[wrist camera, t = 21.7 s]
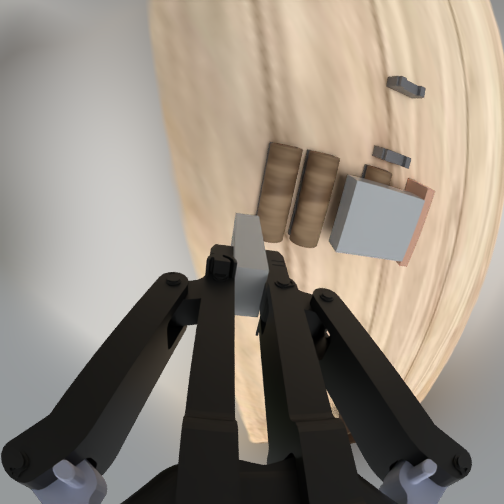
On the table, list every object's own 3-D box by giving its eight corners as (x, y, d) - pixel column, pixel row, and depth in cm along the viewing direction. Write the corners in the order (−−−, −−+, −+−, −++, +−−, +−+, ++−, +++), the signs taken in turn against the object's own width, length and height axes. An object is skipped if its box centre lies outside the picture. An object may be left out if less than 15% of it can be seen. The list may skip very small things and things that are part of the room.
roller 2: (305, 149, 43) (315, 153, 39) (333, 155, 44) (345, 160, 39) (286, 233, 51) (293, 246, 46) (312, 236, 51) (320, 249, 47)
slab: (347, 174, 40) (357, 180, 37) (412, 193, 42) (425, 200, 38) (328, 240, 46) (335, 252, 42) (392, 251, 47) (401, 261, 44)
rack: (388, 77, 36) (400, 75, 32) (413, 89, 37) (426, 88, 33) (372, 155, 44) (383, 159, 40) (397, 163, 44) (409, 169, 40)
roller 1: (268, 141, 42) (273, 145, 38) (298, 147, 43) (306, 151, 39) (252, 228, 50) (255, 240, 45) (279, 231, 51) (285, 244, 46)
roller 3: (364, 163, 45) (372, 168, 41) (386, 170, 45) (396, 176, 41) (342, 240, 52) (347, 251, 48) (363, 245, 52) (369, 256, 48)
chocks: (269, 142, 42) (270, 142, 42) (387, 170, 45) (388, 171, 45) (253, 228, 50) (253, 229, 49) (363, 245, 52) (364, 246, 52)
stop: (408, 178, 46) (428, 188, 39) (415, 180, 46) (435, 190, 40) (384, 248, 53) (399, 265, 47) (391, 249, 53) (406, 266, 47)
